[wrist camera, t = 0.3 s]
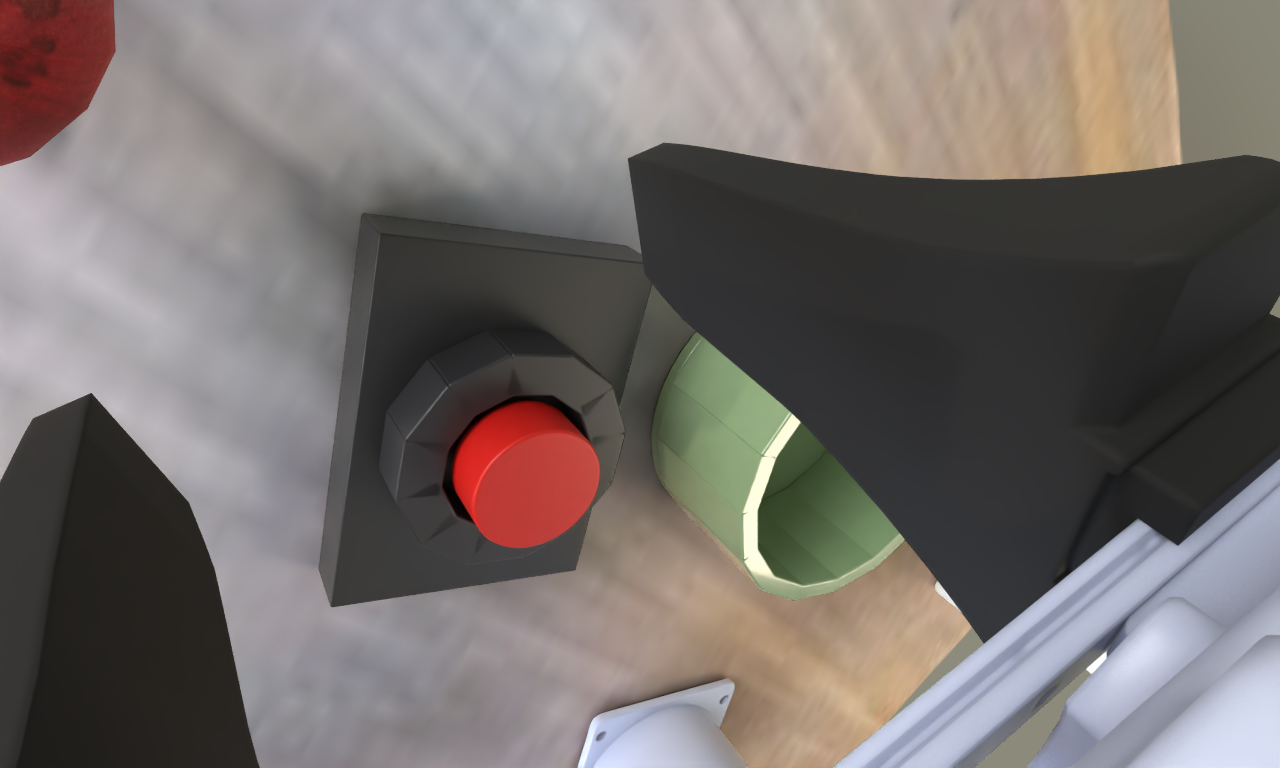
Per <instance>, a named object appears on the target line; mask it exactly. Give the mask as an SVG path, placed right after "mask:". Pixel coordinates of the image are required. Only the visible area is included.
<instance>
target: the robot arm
mask: <svg viewBox="0 0 1280 768" xmlns="http://www.w3.org/2000/svg"><path fill="white" fill-rule="evenodd" d="M628 163H629V170H630V177H631V184H632V190H633V197H634V204H635V211H636V218H637V224H638V231H639V238H640V245H641V252H642V258H643V265H644V272H645V276H646V277H647V278H648V279H649V281H650V282H651V283H652V284H653V285H654V287H655V288H656V289H657V290H658V291H659V293H660V294H661V295H662V296H663V297H664V299H665V300H666V301H667V302H668V303H669V304H670V305H671V307H672V308H673V309H674V310H675V311H676V312H677V313H678V314H679V315H680V317H681V318H682V319H683V320H684V321H685V322H686V323H687V324H689V325H690V326H691V327H692V328H693V329H694V330H695V331H696V332H698V333H699V334H700V335H701V336H702V337H703V338H705V339H706V340H707V341H708V342H709V343H710V344H711V345H713V346H714V347H715V348H716V349H717V350H718V351H720V352H721V353H722V354H723V355H724V356H725V357H727V358H728V359H729V360H730V361H731V362H732V363H734V364H735V365H736V366H737V367H738V368H740V369H741V370H742V371H743V372H744V373H745V374H747V375H748V376H749V377H750V378H751V379H753V380H754V381H755V382H756V383H757V384H758V385H760V386H761V387H762V388H763V389H764V390H765V391H767V392H768V393H769V394H770V395H771V396H773V397H774V398H775V399H776V400H777V401H778V402H780V403H781V404H782V405H783V406H784V407H785V408H786V409H787V410H788V411H789V412H791V413H792V414H793V415H794V416H795V417H796V418H797V419H798V420H799V421H800V422H801V423H802V424H803V425H804V426H805V427H806V428H807V429H808V430H809V431H810V432H811V433H812V434H813V435H814V436H815V438H816V439H817V440H818V441H819V442H820V443H821V444H822V445H823V446H824V447H825V448H826V449H827V450H828V451H829V453H830V454H831V455H832V456H833V457H834V458H835V459H836V460H837V461H838V462H839V463H840V464H841V465H842V466H843V468H844V469H845V470H846V471H847V472H848V473H849V474H850V476H851V477H852V478H853V479H854V480H855V481H856V482H857V484H858V485H859V486H860V487H861V488H862V489H863V490H864V492H865V493H866V494H867V495H868V496H869V497H870V498H871V500H872V501H873V502H874V503H875V504H876V505H877V506H878V508H879V509H880V510H881V511H882V512H883V513H884V515H885V516H886V517H887V518H888V519H889V521H890V522H891V523H892V524H893V526H894V527H895V528H896V529H897V531H898V532H899V533H900V534H901V535H902V537H903V538H904V539H905V540H906V542H907V543H908V544H909V545H910V546H911V548H912V549H913V550H914V551H915V553H916V554H917V555H918V556H919V557H920V559H921V560H922V561H923V562H924V564H925V565H926V566H927V567H928V569H929V570H930V571H931V573H932V574H933V575H934V577H935V578H936V579H937V581H938V582H939V583H940V585H941V586H942V587H943V589H944V590H945V591H946V593H947V594H948V595H949V597H950V598H951V599H952V601H953V602H954V603H955V605H956V606H957V607H958V609H959V610H960V611H961V612H962V614H963V615H964V616H965V618H966V619H967V620H968V622H969V623H970V625H971V626H972V627H973V629H974V630H975V632H976V633H977V634H978V636H979V637H980V639H981V640H982V642H983V643H984V644H983V645H982V646H981V647H980V648H978V649H977V650H976V651H975V652H973V653H972V654H971V655H970V656H968V657H967V658H966V659H965V660H964V661H962V662H961V663H960V664H959V665H957V666H956V667H955V668H954V669H953V670H951V671H950V672H949V673H948V674H946V675H945V676H944V677H943V678H941V679H940V680H939V681H938V682H937V683H935V684H934V685H933V686H932V687H930V688H929V689H928V690H927V691H926V692H924V693H923V694H922V695H921V696H919V697H918V698H917V699H916V700H914V701H913V702H912V703H911V704H910V705H908V706H907V707H906V708H905V709H903V710H902V711H901V712H900V713H899V714H897V715H896V716H895V717H894V718H893V719H891V720H890V721H889V722H887V723H886V724H885V725H884V726H883V727H881V728H880V729H879V730H878V731H876V732H875V733H874V734H873V735H871V736H870V737H869V738H868V739H867V740H865V741H864V742H863V743H862V744H860V745H859V746H858V747H857V748H856V749H854V750H853V751H852V752H851V753H849V754H848V755H847V756H846V757H844V758H843V759H842V760H841V761H840V762H838V763H837V764H836V765H835V766H833V767H832V768H974V767H976V766H977V765H978V764H979V763H980V762H981V761H982V760H983V759H985V757H987V756H988V755H989V754H990V753H991V752H993V751H994V750H995V749H996V748H997V747H998V746H999V745H1001V744H1002V743H1003V742H1004V741H1005V740H1006V739H1007V738H1008V737H1009V736H1011V735H1012V734H1013V733H1014V732H1015V731H1016V730H1017V729H1019V728H1020V727H1021V726H1022V725H1023V724H1024V723H1026V722H1027V721H1028V720H1029V719H1030V718H1031V717H1032V716H1033V715H1035V714H1036V713H1037V712H1038V711H1039V710H1040V709H1041V708H1042V707H1044V706H1045V705H1046V704H1047V703H1048V702H1049V701H1050V700H1052V699H1053V698H1054V697H1055V696H1056V695H1057V694H1058V693H1060V692H1061V691H1062V690H1063V689H1064V688H1065V687H1066V686H1067V685H1069V684H1070V683H1071V682H1072V681H1073V680H1074V679H1075V678H1076V677H1078V676H1079V675H1080V674H1081V673H1082V672H1083V671H1084V670H1086V669H1087V668H1088V667H1089V666H1090V665H1091V664H1092V663H1094V662H1095V661H1096V660H1097V659H1098V658H1099V657H1100V656H1101V655H1103V654H1104V653H1105V652H1106V651H1107V652H1106V657H1107V658H1106V659H1105V660H1104V662H1103V663H1102V664H1101V665H1100V666H1099V667H1098V668H1097V669H1096V670H1095V671H1094V672H1093V673H1092V674H1091V675H1090V676H1089V677H1088V679H1086V681H1085V682H1084V683H1083V684H1082V685H1081V686H1080V687H1079V688H1078V689H1077V690H1076V691H1075V692H1074V693H1073V694H1072V695H1071V696H1070V697H1069V699H1068V700H1067V701H1066V703H1065V706H1064V709H1063V712H1062V715H1061V718H1060V720H1059V722H1058V723H1057V725H1056V726H1055V728H1054V729H1053V731H1052V733H1051V734H1050V736H1049V738H1048V739H1047V741H1046V742H1045V744H1044V745H1043V746H1042V748H1041V749H1040V750H1039V752H1038V753H1037V754H1036V756H1035V757H1034V758H1033V760H1032V761H1031V762H1030V763H1029V765H1028V766H1027V767H1026V768H1280V318H1278V317H1275V316H1273V315H1271V314H1269V313H1270V311H1271V310H1272V308H1273V306H1274V304H1275V303H1276V301H1277V299H1278V298H1279V296H1280V162H1278V161H1275V160H1272V159H1268V158H1263V157H1257V156H1250V155H1249V156H1248V155H1242V156H1236V157H1229V158H1222V159H1215V160H1209V161H1202V162H1195V163H1188V164H1181V165H1175V166H1168V167H1161V168H1154V169H1148V170H1139V171H1130V172H1119V173H1108V174H1098V175H1087V176H1075V177H1059V178H1042V179H1003V180H952V179H932V178H913V177H897V176H886V175H875V174H867V173H859V172H851V171H843V170H835V169H827V168H821V167H814V166H808V165H802V164H795V163H789V162H784V161H778V160H772V159H767V158H761V157H756V156H750V155H745V154H739V153H734V152H728V151H722V150H717V149H711V148H704V147H698V146H691V145H683V144H672V143H662V144H660V145H658V146H655V147H653V148H651V149H649V150H646V151H644V152H642V153H639V154H637V155H635V156H633V157H630V158H628ZM734 689H735V684H734V683H733V682H732V681H731V679H723V680H719V681H715V682H712V683H708V684H705V685H701V686H697V687H694V688H690V689H687V690H683V691H679V692H676V693H672V694H669V695H665V696H661V697H658V698H654V699H651V700H647V701H643V702H640V703H636V704H633V705H629V706H625V707H622V708H618V709H615V710H611V711H607V712H604V713H601V714H599V715H597V716H596V717H595V718H594V719H593V720H592V722H591V724H590V728H589V731H588V734H587V738H586V741H585V744H584V748H583V751H582V754H581V758H580V761H579V764H578V767H577V768H749V767H748V765H747V764H746V763H745V761H744V760H743V759H742V757H741V756H740V755H739V753H738V752H737V751H736V750H735V748H734V747H733V746H732V744H731V743H730V742H729V740H728V739H727V738H726V736H725V735H724V734H723V732H722V731H721V730H720V726H721V723H722V721H723V718H724V715H725V713H726V710H727V708H728V705H729V702H730V700H731V697H732V695H733V692H734ZM0 768H260V767H259V764H258V761H257V758H256V754H255V750H254V747H253V743H252V739H251V735H250V732H249V728H248V724H247V719H246V714H245V709H244V704H243V700H242V695H241V690H240V685H239V681H238V676H237V671H236V666H235V661H234V657H233V652H232V647H231V642H230V637H229V633H228V628H227V623H226V619H225V614H224V609H223V605H222V600H221V596H220V591H219V586H218V582H217V578H216V573H215V569H214V566H213V564H212V561H211V558H210V555H209V553H208V550H207V547H206V545H205V542H204V539H203V537H202V534H201V532H200V529H199V527H198V524H197V522H196V519H195V517H194V514H193V512H192V509H191V507H190V504H189V502H188V501H187V500H186V499H185V498H184V496H183V495H182V494H181V493H180V492H179V491H178V490H177V489H176V487H175V486H174V485H173V484H172V483H171V482H170V481H169V480H168V478H167V477H166V476H165V475H164V474H163V473H162V472H161V471H160V470H159V468H158V467H157V466H156V465H155V464H154V463H153V462H152V461H151V459H150V458H149V457H148V456H147V455H146V454H145V453H144V452H143V450H142V449H141V448H140V447H139V446H138V445H137V444H136V443H135V441H134V440H133V439H132V438H131V437H130V436H129V435H128V434H127V433H126V431H125V430H124V429H123V428H122V427H121V426H120V425H119V424H118V422H117V421H116V420H115V419H114V418H113V417H112V416H111V415H110V413H109V412H108V411H107V410H106V409H105V408H104V407H103V406H102V404H101V403H100V402H99V401H98V400H97V399H96V398H95V397H94V396H93V394H92V393H90V394H88V395H86V396H84V397H81V398H79V399H77V400H74V401H72V402H70V403H68V404H65V405H63V406H61V407H58V408H56V409H54V410H52V411H49V412H47V413H45V414H42V415H40V416H38V417H36V418H33V420H32V421H31V423H30V425H29V426H28V428H27V430H26V432H25V434H24V435H23V437H22V439H21V441H20V443H19V445H18V447H17V449H16V451H15V453H14V455H13V457H12V459H11V461H10V463H9V465H8V467H7V469H6V471H5V474H4V476H3V478H2V480H1V482H0Z"/></svg>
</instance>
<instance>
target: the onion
mask: <svg viewBox="0 0 1280 768" xmlns="http://www.w3.org/2000/svg"><path fill="white" fill-rule="evenodd" d="M115 51H116V49H115V24H114V0H0V166H2V165H6V164H9V163H12V162H15V161H18V160H22V159H25V158H28V157H30V156H32V155H33V154H34V153H35V152H37V151H38V150H39V149H40V148H41V147H43V146H44V145H45V144H46V143H47V142H48V141H50V140H51V139H52V138H53V137H54V136H56V135H57V134H58V133H59V132H60V131H62V130H63V129H64V128H65V127H66V126H67V125H69V124H70V123H71V122H72V121H73V120H75V119H76V118H77V117H78V116H79V115H81V114H82V113H83V112H84V111H85V110H87V109H88V107H89V105H90V102H91V100H92V98H93V96H94V94H95V92H96V90H97V88H98V86H99V84H100V82H101V80H102V78H103V76H104V74H105V72H106V70H107V68H108V65H109V63H110V61H111V59H112V57H113V55H114V53H115Z"/></svg>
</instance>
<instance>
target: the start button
mask: <svg viewBox="0 0 1280 768" xmlns="http://www.w3.org/2000/svg"><path fill="white" fill-rule="evenodd" d="M451 472H452V482H453V486H454V489H455V491H456V493H457V495H458V496H459V498H460V500H461V501H462V503H463V504H464V506H465V508H466V509H467V511H468V513H469V514H470V516H471V518H472V519H473V521H474V523H475V524H476V526H477V527H478V529H479V531H480V532H481V533H482V534H483V535H484V536H485V537H486V538H487V539H489V540H490V541H492V542H494V543H496V544H499V545H501V546H505V547H510V548H527V547H532V546H536V545H540V544H543V543H545V542H548V541H550V540H552V539H554V538H556V537H558V536H559V535H561V534H562V533H564V532H565V531H567V530H568V529H569V528H571V527H572V526H573V525H574V524H575V523H576V522H577V521H578V520H579V519H580V518H581V517H582V516H583V515H584V513H585V512H586V510H587V509H588V508H589V506H590V504H591V503H592V501H593V499H594V497H595V495H596V492H597V489H598V486H599V481H600V463H599V458H598V455H597V453H596V450H595V449H594V447H593V446H592V444H591V443H590V442H589V441H588V440H587V439H586V438H585V437H584V436H583V435H582V433H581V432H580V431H579V430H578V429H577V428H576V427H575V426H574V425H573V424H572V423H571V422H570V421H569V420H568V418H567V417H566V416H565V415H564V414H563V413H562V412H561V411H559V410H558V409H557V408H555V407H553V406H551V405H549V404H546V403H543V402H538V401H528V400H526V401H517V402H512V403H508V404H505V405H502V406H500V407H498V408H495V409H493V410H492V411H490V412H488V413H487V414H485V415H484V416H482V417H481V418H480V419H479V420H477V421H476V422H475V423H474V424H473V425H472V426H471V427H470V428H469V430H468V431H467V432H466V433H465V435H464V436H463V437H462V439H461V441H460V443H459V444H458V446H457V449H456V451H455V454H454V458H453V462H452V470H451Z"/></svg>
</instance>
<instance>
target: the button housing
mask: <svg viewBox="0 0 1280 768" xmlns="http://www.w3.org/2000/svg"><path fill="white" fill-rule="evenodd" d="M651 285H652V283H651V282H650V281H649V279H648V278H647V277H646V276H645V272H644V265H643V258H642V255H641V254H639V253H638V252H636V251H635V250H633V249H631V248H630V247H628V246H624V245H616V244H608V243H600V242H592V241H584V240H576V239H568V238H560V237H552V236H543V235H535V234H527V233H519V232H511V231H503V230H495V229H487V228H479V227H471V226H463V225H455V224H447V223H439V222H431V221H422V220H414V219H406V218H398V217H390V216H382V215H374V214H366V213H363V214H362V215H361V222H360V231H359V239H358V247H357V256H356V264H355V272H354V281H353V289H352V297H351V305H350V314H349V322H348V330H347V339H346V347H345V355H344V363H343V372H342V380H341V388H340V397H339V405H338V413H337V422H336V430H335V438H334V446H333V455H332V463H331V471H330V480H329V488H328V496H327V504H326V513H325V521H324V529H323V538H322V546H321V554H320V563H319V572H320V575H321V578H322V581H323V584H324V587H325V590H326V594H327V597H328V600H329V603H330V606H331V607H337V606H344V605H350V604H357V603H363V602H370V601H377V600H383V599H390V598H396V597H403V596H409V595H416V594H422V593H429V592H436V591H442V590H449V589H455V588H462V587H468V586H475V585H482V584H488V583H495V582H501V581H508V580H514V579H521V578H527V577H534V576H541V575H547V574H554V573H560V572H567V571H573V570H575V569H576V566H577V563H578V559H579V555H580V551H581V548H582V544H583V540H584V536H585V533H586V529H587V525H588V521H589V518H590V514H591V510H592V507H593V506H594V505H595V504H596V502H597V501H598V500H599V499H600V497H601V496H602V495H603V494H604V492H605V491H606V490H607V489H608V488H609V486H610V485H611V482H612V481H613V477H614V474H615V470H616V466H617V463H618V459H619V455H620V452H621V448H622V445H623V441H624V437H625V426H624V423H623V419H622V416H621V412H620V409H619V405H620V402H621V398H622V394H623V390H624V387H625V383H626V379H627V375H628V372H629V368H630V364H631V360H632V357H633V353H634V349H635V345H636V342H637V338H638V334H639V330H640V327H641V323H642V319H643V315H644V312H645V308H646V304H647V300H648V297H649V293H650V289H651ZM526 400H528V401H538V402H543V403H546V404H549V405H551V406H553V407H555V408H557V409H558V410H559V411H561V412H562V413H563V414H564V415H565V416H566V417H567V418H568V420H569V421H570V422H571V423H572V424H573V425H574V426H575V427H576V428H577V429H578V430H579V431H580V432H581V433H582V435H583V436H584V437H585V438H586V439H587V440H588V441H589V442H590V443H591V444H592V446H593V447H594V449H595V450H596V453H597V455H598V458H599V463H600V481H599V486H598V489H597V492H596V495H595V497H594V499H593V501H592V503H591V504H590V506H589V508H588V509H587V510H586V512H585V513H584V515H583V516H582V517H581V518H580V519H579V520H578V521H577V522H576V523H575V524H574V525H573V526H572V527H571V528H569V529H568V530H567V531H565V532H564V533H562V534H561V535H559V536H558V537H556V538H554V539H552V540H550V541H548V542H545V543H543V544H540V545H536V546H532V547H527V548H510V547H505V546H501V545H499V544H496V543H494V542H492V541H490V540H489V539H487V538H486V537H485V536H484V535H483V534H482V533H481V532H480V531H479V529H478V527H477V526H476V524H475V523H474V521H473V519H472V518H471V516H470V514H469V513H468V511H467V509H466V508H465V506H464V504H463V503H462V501H461V500H460V498H459V496H458V495H457V493H456V491H455V489H454V486H453V482H452V472H451V470H452V462H453V458H454V454H455V451H456V449H457V446H458V444H459V443H460V441H461V439H462V437H463V436H464V435H465V433H466V432H467V431H468V430H469V428H470V427H471V426H472V425H473V424H474V423H475V422H476V421H477V420H479V419H480V418H481V417H482V416H484V415H485V414H487V413H488V412H490V411H492V410H493V409H495V408H498V407H500V406H502V405H505V404H508V403H512V402H517V401H526Z"/></svg>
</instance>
